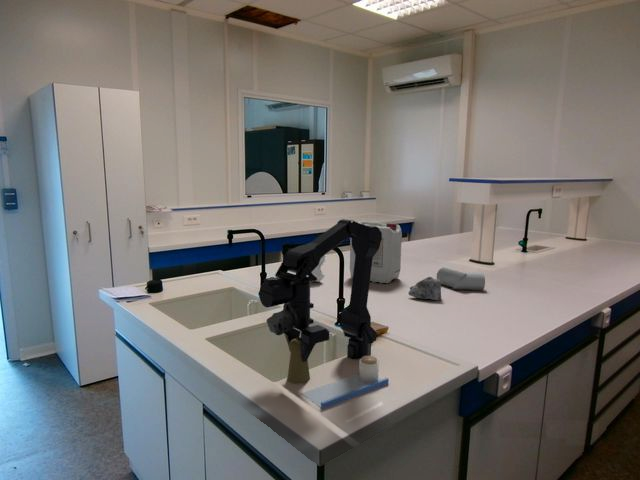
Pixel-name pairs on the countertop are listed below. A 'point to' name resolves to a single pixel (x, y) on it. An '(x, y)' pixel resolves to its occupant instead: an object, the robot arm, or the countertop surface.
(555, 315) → the countertop surface
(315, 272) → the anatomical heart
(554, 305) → the countertop surface
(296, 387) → the countertop surface
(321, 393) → the shelf
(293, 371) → the olive waisted cylinder
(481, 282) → the bent grey cylinder
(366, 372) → the ceramic jar
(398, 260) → the jerry can
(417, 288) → the mineral rock
